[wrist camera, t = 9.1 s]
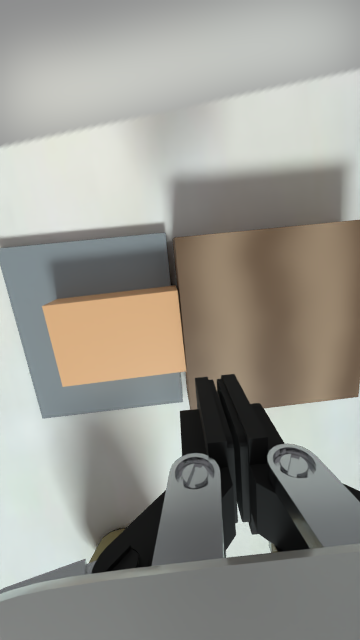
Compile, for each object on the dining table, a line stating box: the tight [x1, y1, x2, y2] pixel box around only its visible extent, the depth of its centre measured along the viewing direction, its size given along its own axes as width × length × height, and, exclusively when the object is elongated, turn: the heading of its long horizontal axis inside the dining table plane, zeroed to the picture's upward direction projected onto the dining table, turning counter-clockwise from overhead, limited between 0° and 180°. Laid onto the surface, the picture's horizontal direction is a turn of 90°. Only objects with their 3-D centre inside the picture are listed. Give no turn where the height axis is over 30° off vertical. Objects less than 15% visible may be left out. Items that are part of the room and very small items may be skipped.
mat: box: [0, 233, 183, 418], centre depth 21 cm, size 12×14×1 cm
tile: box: [42, 285, 186, 387], centre depth 19 cm, size 9×6×2 cm, turn 96°
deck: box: [173, 220, 360, 410], centre depth 20 cm, size 13×13×4 cm
